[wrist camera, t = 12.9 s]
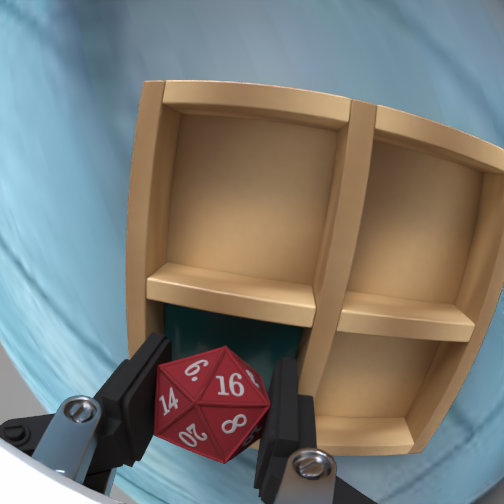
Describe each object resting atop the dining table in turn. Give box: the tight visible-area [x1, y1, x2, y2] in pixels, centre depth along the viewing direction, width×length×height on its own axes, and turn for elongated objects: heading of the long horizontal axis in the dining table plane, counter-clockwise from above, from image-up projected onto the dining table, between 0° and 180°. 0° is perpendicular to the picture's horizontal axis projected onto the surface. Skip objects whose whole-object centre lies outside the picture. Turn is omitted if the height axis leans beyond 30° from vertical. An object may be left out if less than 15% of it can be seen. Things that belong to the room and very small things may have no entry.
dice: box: [154, 346, 270, 464], centre depth 9 cm, size 4×4×4 cm
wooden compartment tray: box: [126, 80, 504, 456], centre depth 11 cm, size 14×14×3 cm
